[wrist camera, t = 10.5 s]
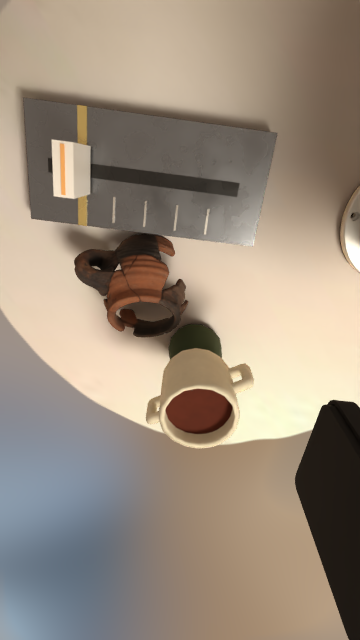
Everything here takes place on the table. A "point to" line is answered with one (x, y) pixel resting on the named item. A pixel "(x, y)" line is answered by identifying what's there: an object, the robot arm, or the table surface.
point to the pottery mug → (134, 282)
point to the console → (151, 172)
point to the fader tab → (70, 169)
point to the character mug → (198, 390)
